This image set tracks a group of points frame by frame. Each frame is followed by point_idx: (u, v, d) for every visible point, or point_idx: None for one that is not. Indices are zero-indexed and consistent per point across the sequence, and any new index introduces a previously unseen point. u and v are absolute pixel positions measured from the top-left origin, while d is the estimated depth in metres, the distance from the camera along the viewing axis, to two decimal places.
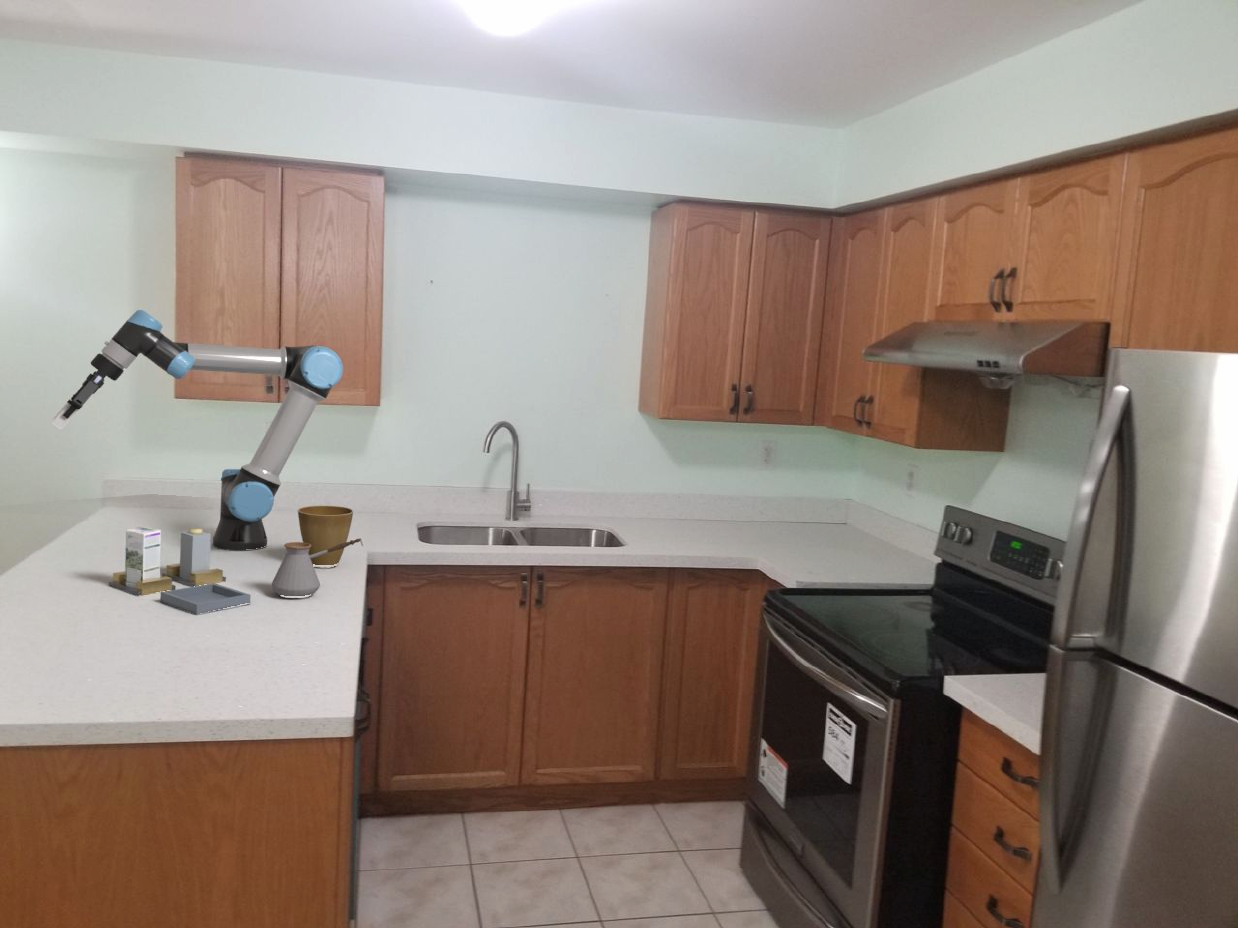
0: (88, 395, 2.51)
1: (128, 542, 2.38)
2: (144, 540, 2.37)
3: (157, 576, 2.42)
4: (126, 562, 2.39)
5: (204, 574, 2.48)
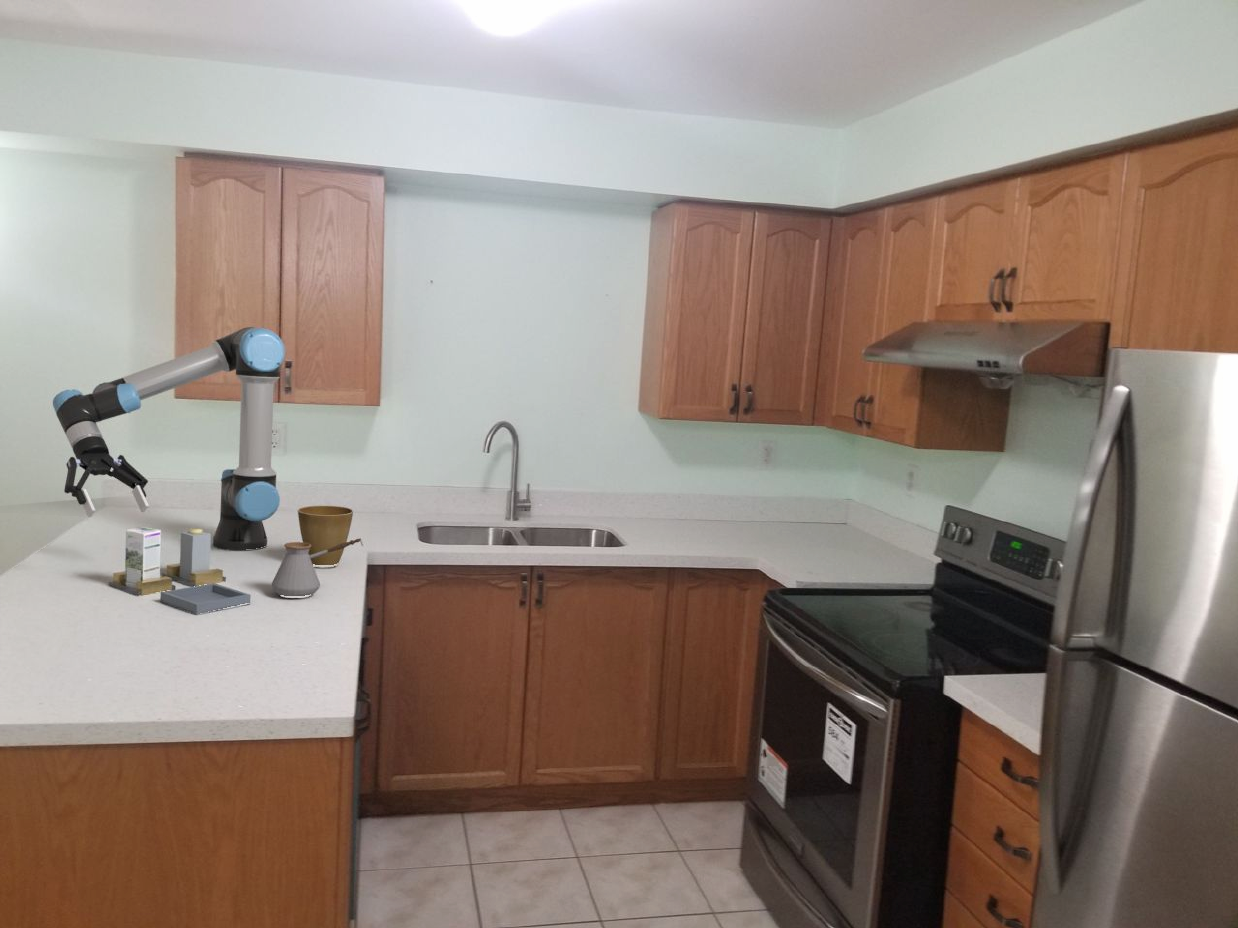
0: (69, 476, 2.41)
1: (128, 542, 2.38)
2: (144, 540, 2.37)
3: (157, 576, 2.42)
4: (126, 562, 2.39)
5: (204, 574, 2.48)
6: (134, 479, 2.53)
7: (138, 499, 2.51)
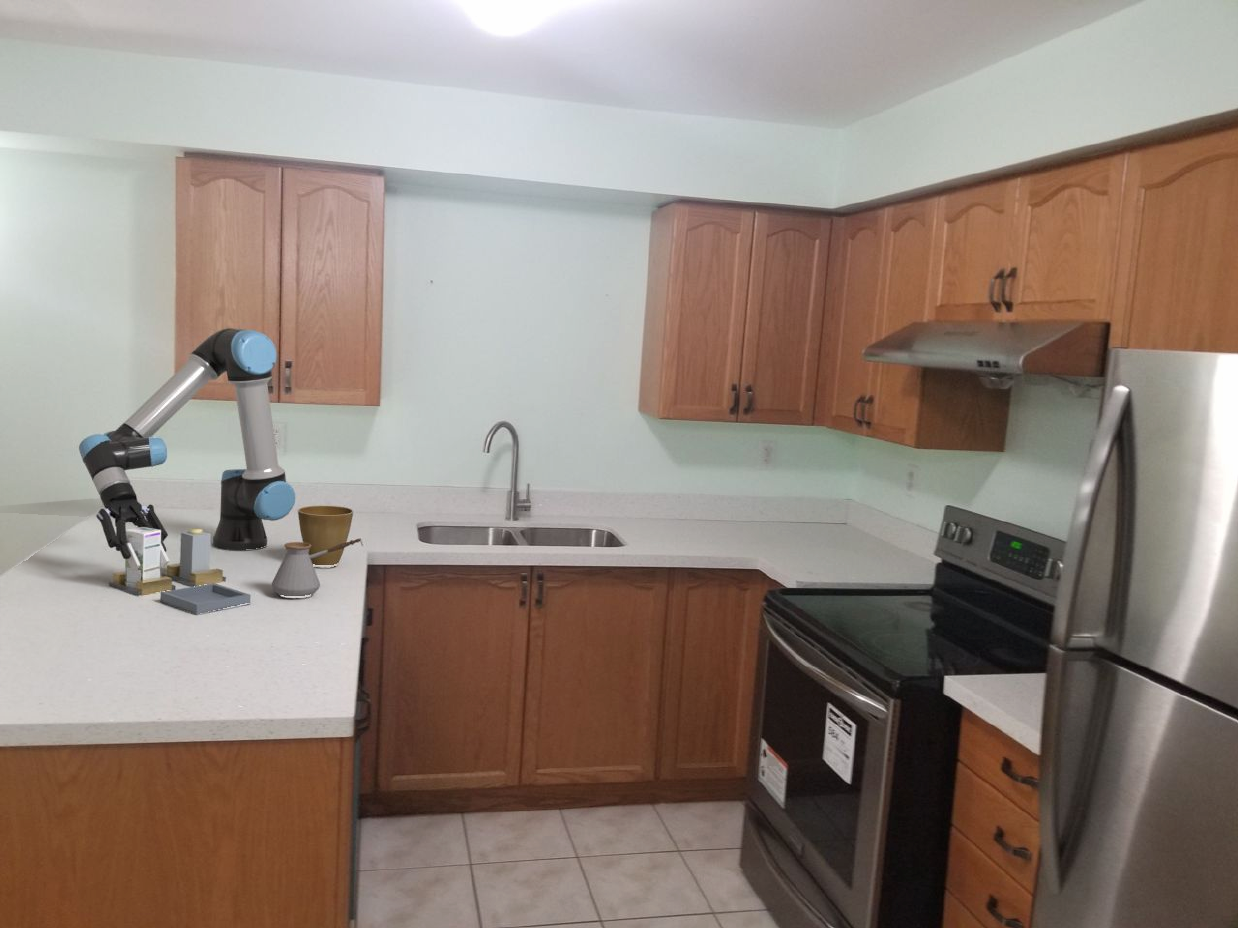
0: (108, 530, 2.36)
1: (128, 542, 2.38)
2: (144, 540, 2.37)
3: (157, 576, 2.42)
4: (127, 562, 2.39)
5: (204, 574, 2.48)
6: None
7: None
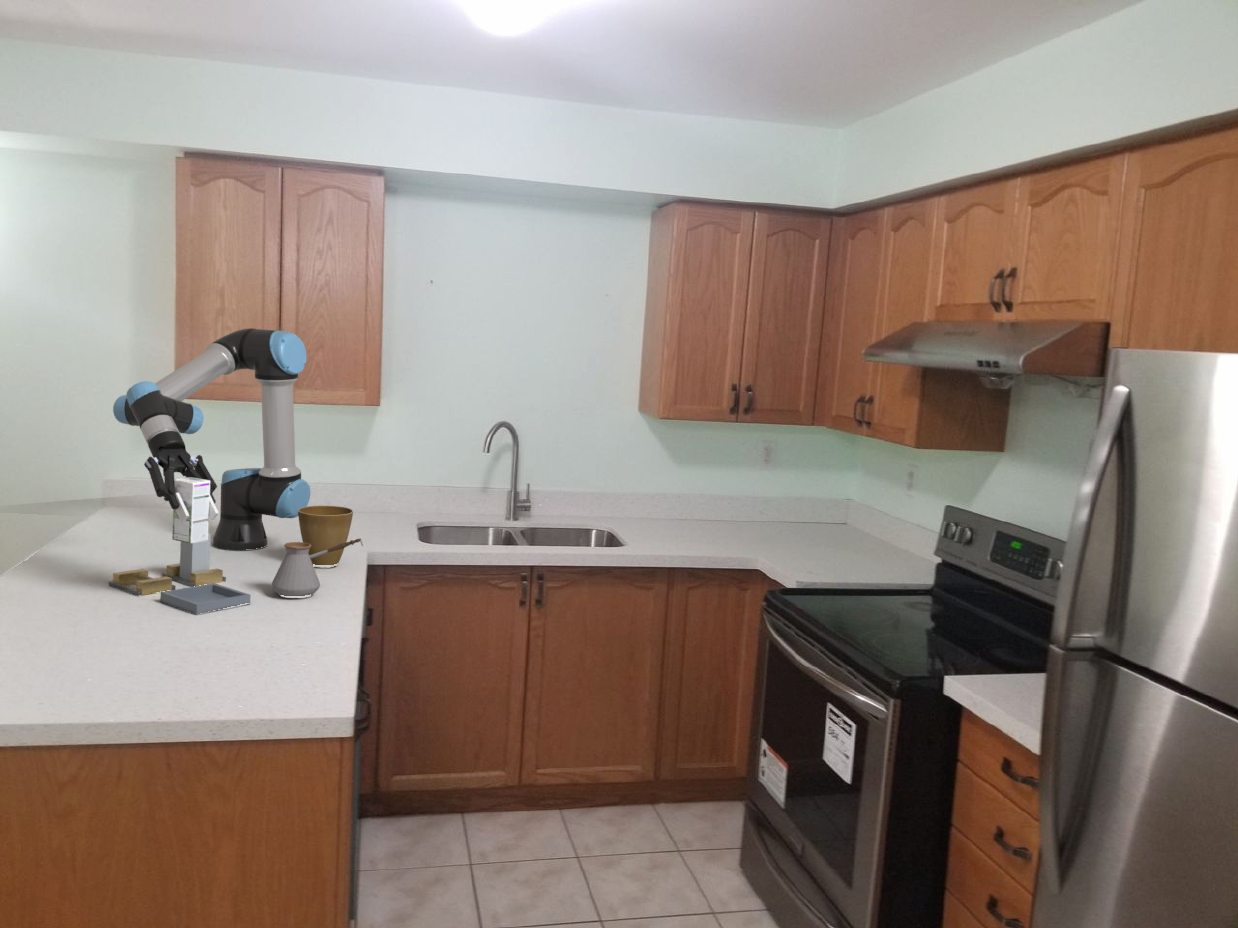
0: (156, 478, 2.26)
1: (176, 492, 2.28)
2: (193, 490, 2.26)
3: (205, 529, 2.32)
4: (174, 513, 2.29)
5: (204, 574, 2.48)
6: None
7: None
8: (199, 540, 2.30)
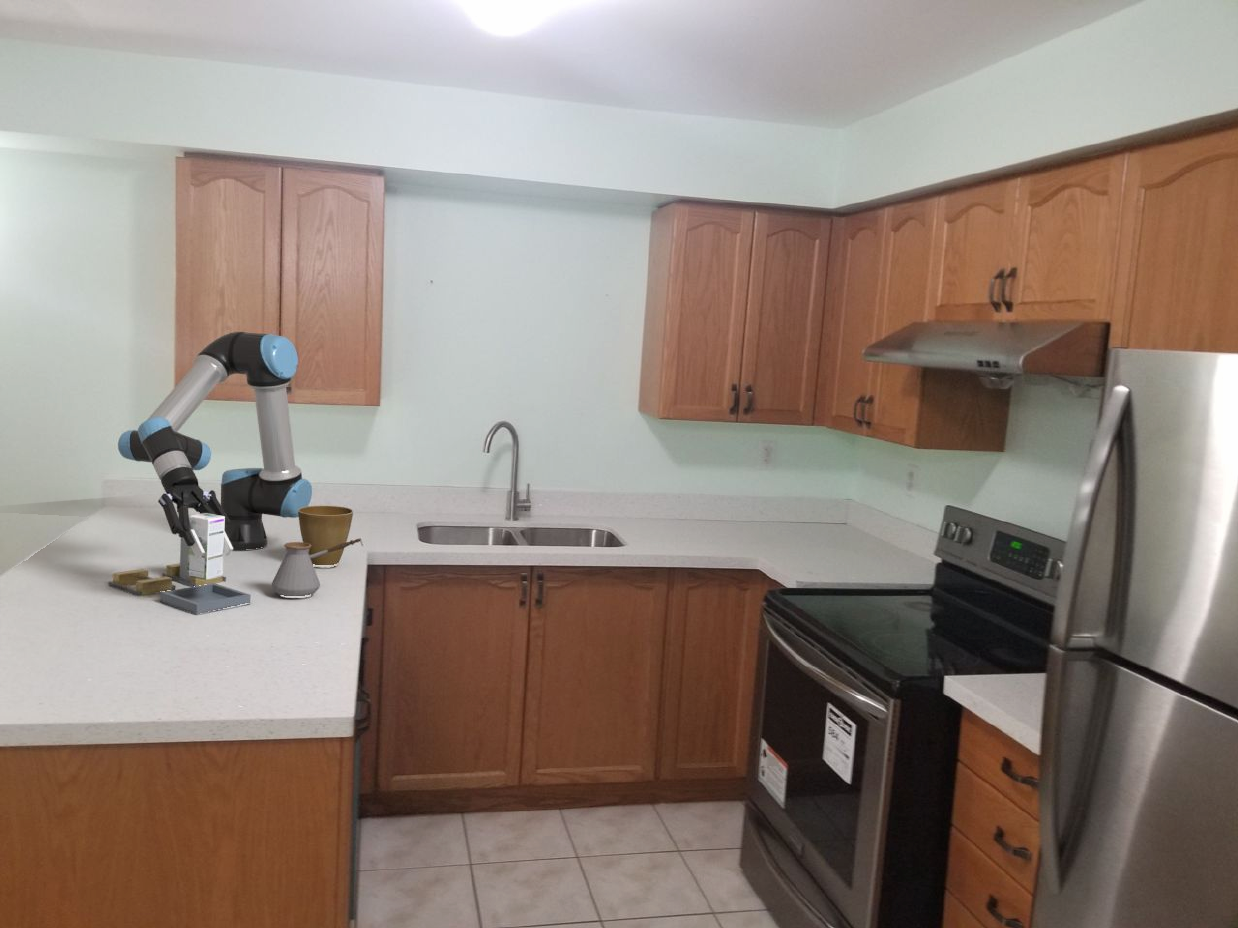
0: (171, 515, 2.26)
1: (191, 528, 2.28)
2: (209, 527, 2.27)
3: (220, 564, 2.32)
4: (189, 550, 2.29)
5: None
6: None
7: None
8: (214, 576, 2.30)
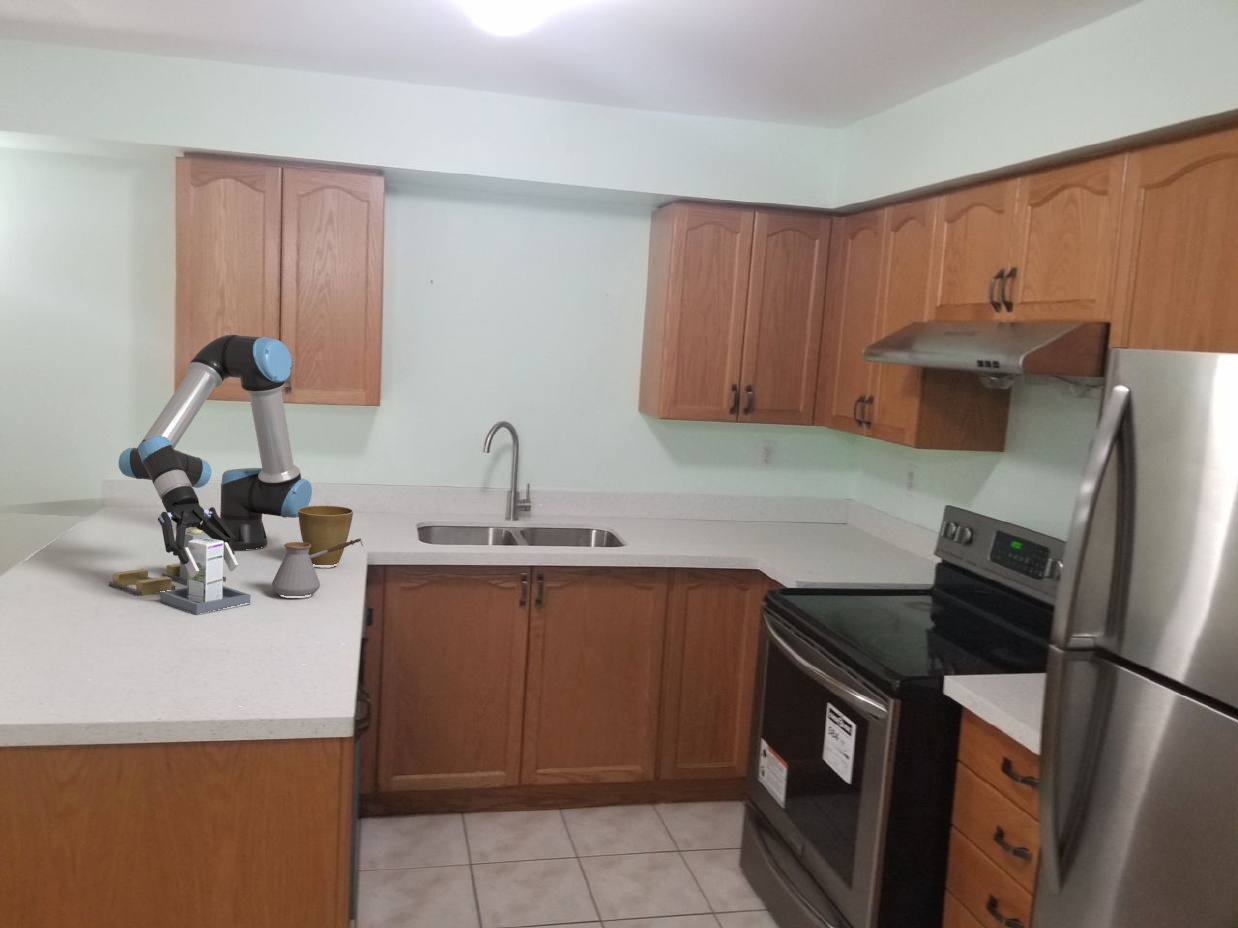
0: (167, 533, 2.26)
1: None
2: (207, 552, 2.28)
3: (220, 589, 2.33)
4: (189, 575, 2.30)
5: None
6: (222, 535, 2.36)
7: (227, 557, 2.35)
8: None
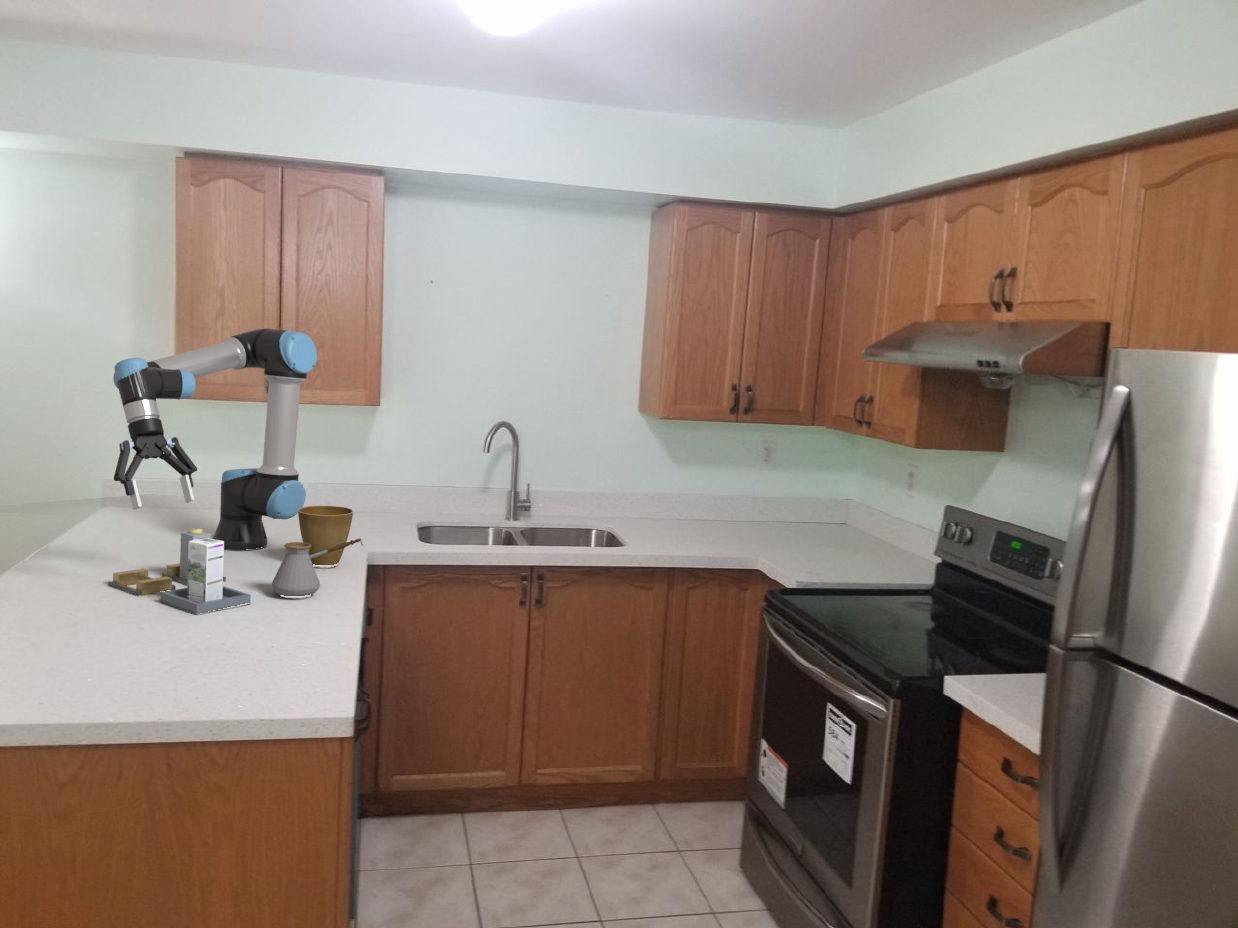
0: (120, 463, 2.34)
1: (191, 554, 2.29)
2: (208, 552, 2.27)
3: (220, 589, 2.33)
4: (189, 575, 2.30)
5: None
6: (184, 467, 2.46)
7: (185, 489, 2.46)
8: None
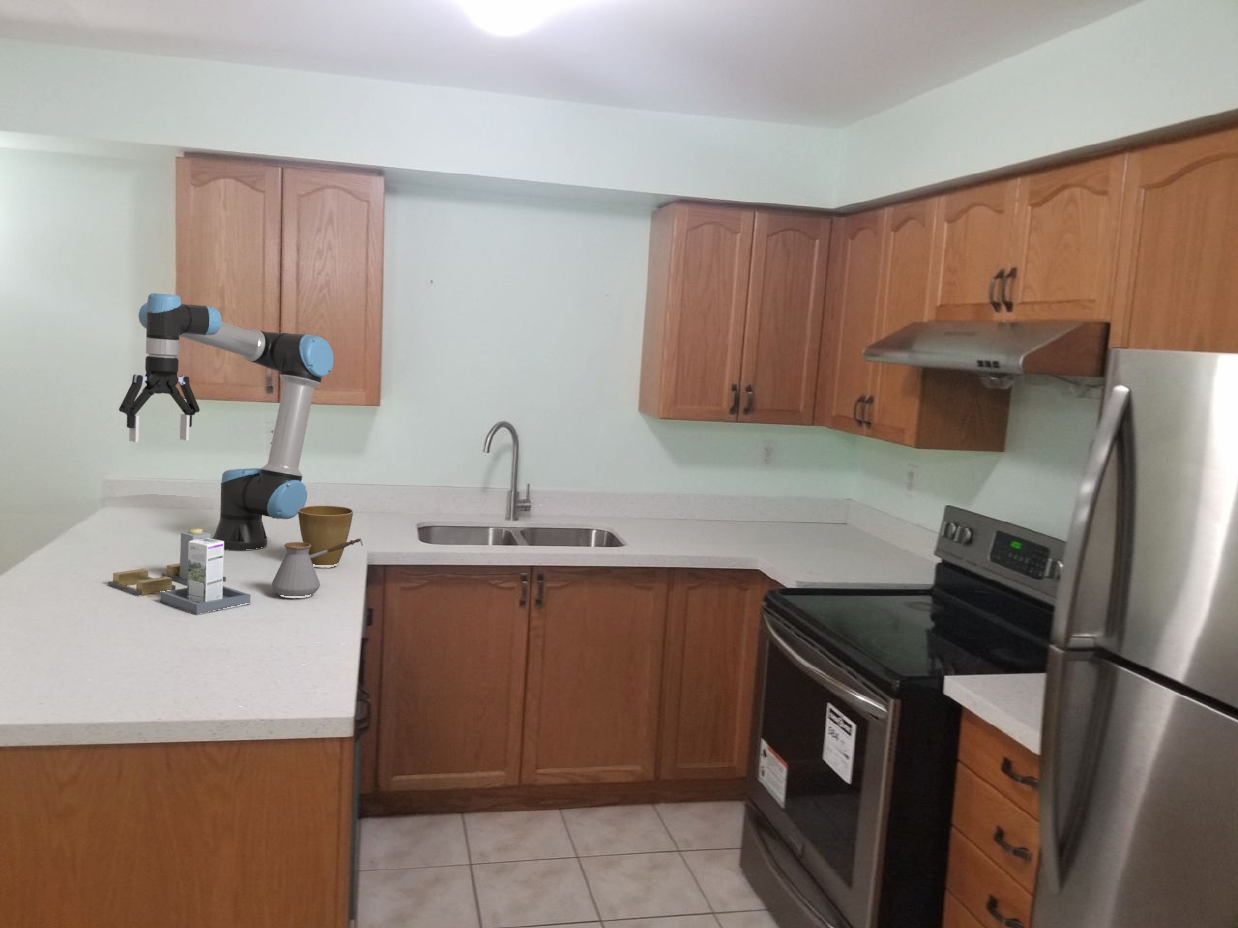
0: (129, 397, 2.41)
1: (191, 554, 2.29)
2: (208, 552, 2.27)
3: (220, 589, 2.33)
4: (189, 575, 2.30)
5: None
6: (188, 407, 2.54)
7: (183, 427, 2.55)
8: None
